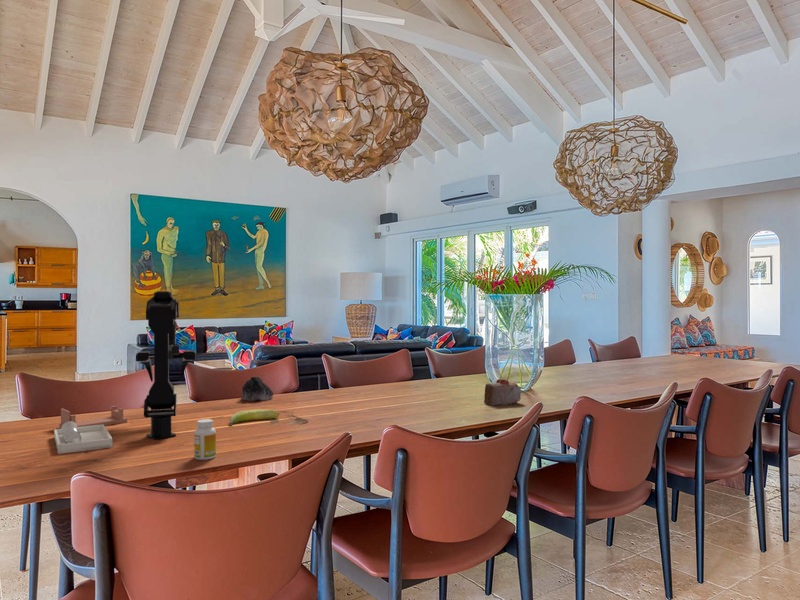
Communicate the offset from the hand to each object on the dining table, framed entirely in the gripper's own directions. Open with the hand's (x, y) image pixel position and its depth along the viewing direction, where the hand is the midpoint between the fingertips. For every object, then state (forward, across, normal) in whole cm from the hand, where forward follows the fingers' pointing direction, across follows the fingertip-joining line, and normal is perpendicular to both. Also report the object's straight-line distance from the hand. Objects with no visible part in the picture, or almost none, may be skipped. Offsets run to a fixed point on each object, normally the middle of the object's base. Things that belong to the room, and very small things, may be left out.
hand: (166, 381), depth 201 cm
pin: (+10, -22, -26) cm, 36 cm away
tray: (+13, -21, -26) cm, 36 cm away
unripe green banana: (+14, +28, -11) cm, 33 cm away
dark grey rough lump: (+13, +33, +31) cm, 47 cm away
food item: (+13, +124, -7) cm, 125 cm away
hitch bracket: (+13, -22, -3) cm, 26 cm away
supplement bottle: (+13, +13, -52) cm, 55 cm away
